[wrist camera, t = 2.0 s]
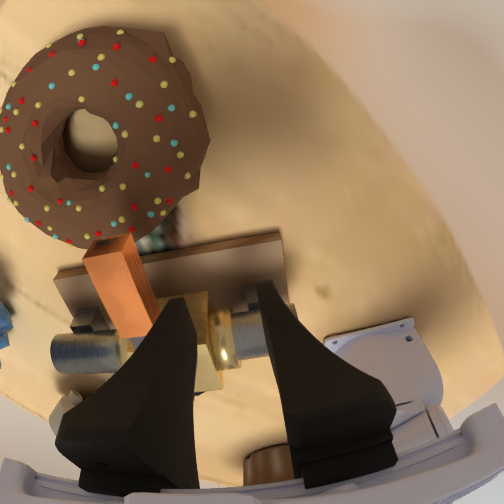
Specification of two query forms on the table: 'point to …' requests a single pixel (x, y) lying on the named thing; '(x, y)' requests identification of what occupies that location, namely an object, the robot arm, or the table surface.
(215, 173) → the table surface
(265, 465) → the plant pot
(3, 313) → the grapes
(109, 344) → the pipe and valve body
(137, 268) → the valve lever
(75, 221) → the donut
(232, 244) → the walnut board
